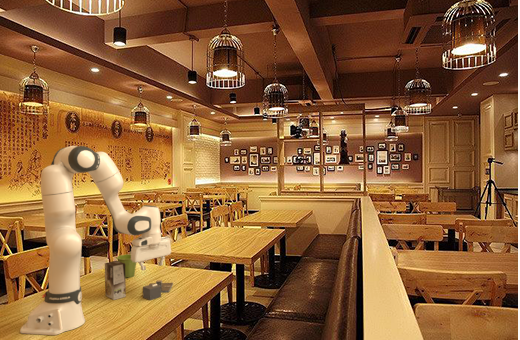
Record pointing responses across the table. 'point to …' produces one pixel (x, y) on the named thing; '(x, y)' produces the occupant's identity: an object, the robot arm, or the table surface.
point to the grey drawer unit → (151, 291)
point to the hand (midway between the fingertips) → (152, 267)
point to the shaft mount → (163, 286)
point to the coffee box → (115, 280)
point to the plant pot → (127, 264)
